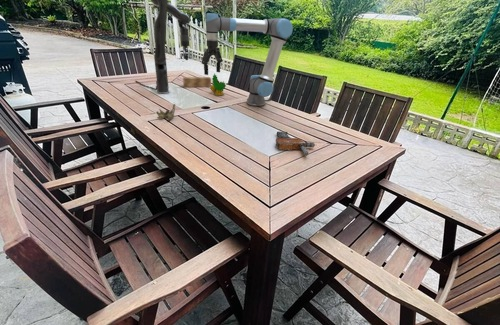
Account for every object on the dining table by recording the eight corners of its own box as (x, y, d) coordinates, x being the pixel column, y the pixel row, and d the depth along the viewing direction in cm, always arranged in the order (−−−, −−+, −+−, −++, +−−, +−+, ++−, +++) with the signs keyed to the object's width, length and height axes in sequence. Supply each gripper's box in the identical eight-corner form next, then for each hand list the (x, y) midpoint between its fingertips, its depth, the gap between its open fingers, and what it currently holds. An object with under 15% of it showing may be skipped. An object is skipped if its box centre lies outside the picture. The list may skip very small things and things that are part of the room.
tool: (272, 130, 160) (281, 150, 133) (314, 131, 162) (332, 151, 136) (271, 136, 161) (280, 157, 135) (313, 137, 164) (330, 158, 138)
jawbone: (182, 108, 180) (175, 98, 171) (172, 126, 173) (165, 116, 165) (170, 106, 182) (164, 96, 174) (161, 124, 176) (153, 114, 168)
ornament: (225, 100, 236) (233, 86, 230) (219, 99, 230) (226, 84, 223) (213, 88, 246) (220, 74, 239) (206, 87, 239) (213, 72, 232)
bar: (184, 87, 251) (183, 78, 247) (183, 85, 255) (182, 77, 251) (210, 86, 260) (210, 78, 256) (209, 85, 264) (209, 77, 261)
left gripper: (179, 39, 239) (180, 58, 247) (181, 40, 227) (183, 60, 235) (187, 39, 241) (188, 58, 249) (190, 41, 230) (191, 60, 238)
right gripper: (204, 41, 161) (205, 76, 172) (227, 40, 180) (227, 71, 191) (195, 40, 164) (196, 75, 175) (218, 39, 183) (218, 70, 194)
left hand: (185, 59), depth 242 cm, fingers open, 8 cm apart
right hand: (212, 73), depth 183 cm, fingers open, 13 cm apart
